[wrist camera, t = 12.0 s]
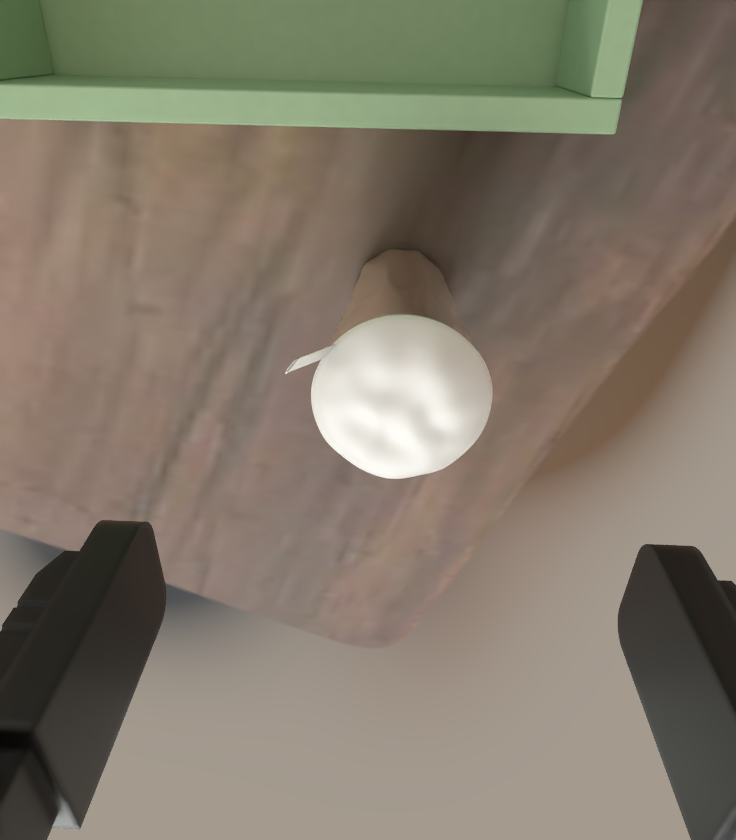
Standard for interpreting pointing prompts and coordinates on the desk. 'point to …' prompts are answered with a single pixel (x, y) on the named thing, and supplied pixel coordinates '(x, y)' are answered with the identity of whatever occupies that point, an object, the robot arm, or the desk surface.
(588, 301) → the desk surface
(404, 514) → the desk surface
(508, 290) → the desk surface
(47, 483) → the desk surface
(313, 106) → the tote
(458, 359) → the milkshake
